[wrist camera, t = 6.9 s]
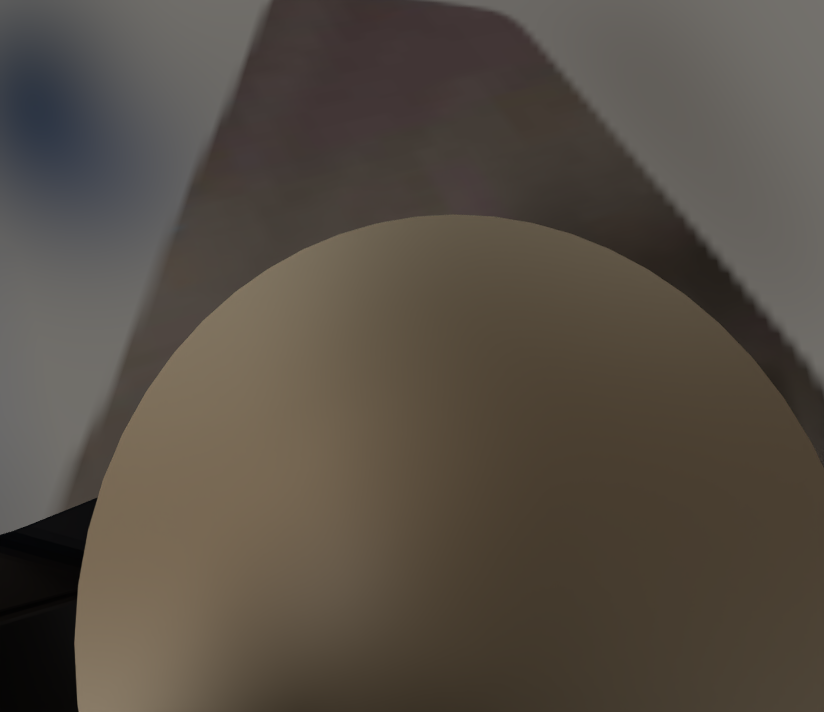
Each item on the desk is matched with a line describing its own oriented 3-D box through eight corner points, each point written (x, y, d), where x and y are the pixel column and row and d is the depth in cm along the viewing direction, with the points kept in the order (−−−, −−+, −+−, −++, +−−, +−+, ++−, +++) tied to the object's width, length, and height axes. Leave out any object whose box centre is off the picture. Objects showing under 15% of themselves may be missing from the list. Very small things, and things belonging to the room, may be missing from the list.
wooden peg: (512, 539, 14) (1084, 940, 2) (379, 576, 14) (68, 1294, 2) (472, 408, 16) (655, 160, 3) (352, 439, 16) (77, 291, 3)
